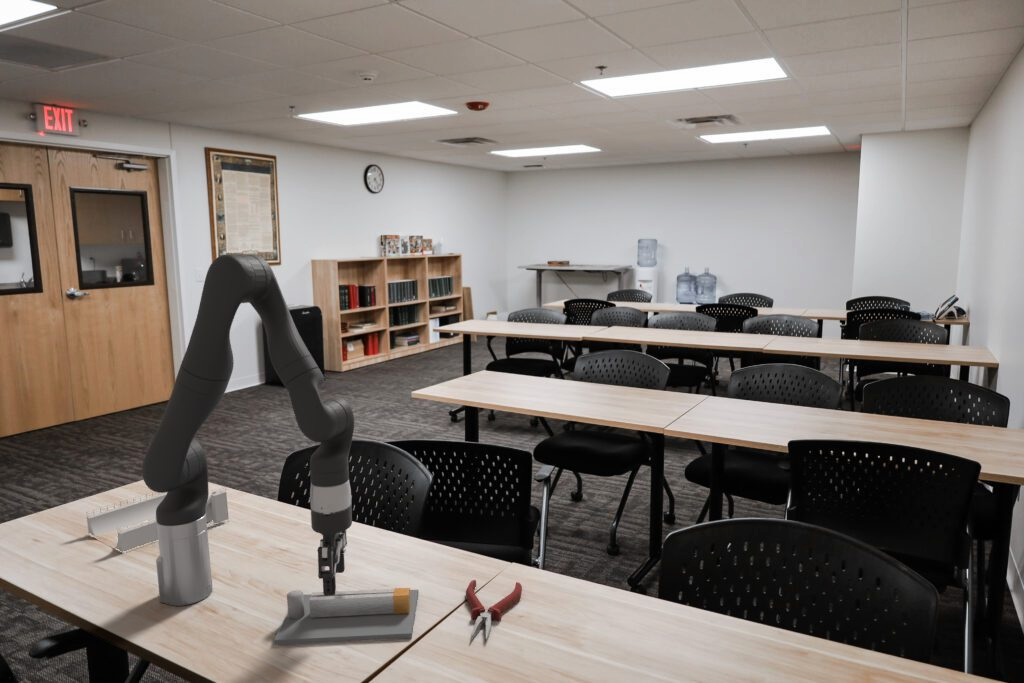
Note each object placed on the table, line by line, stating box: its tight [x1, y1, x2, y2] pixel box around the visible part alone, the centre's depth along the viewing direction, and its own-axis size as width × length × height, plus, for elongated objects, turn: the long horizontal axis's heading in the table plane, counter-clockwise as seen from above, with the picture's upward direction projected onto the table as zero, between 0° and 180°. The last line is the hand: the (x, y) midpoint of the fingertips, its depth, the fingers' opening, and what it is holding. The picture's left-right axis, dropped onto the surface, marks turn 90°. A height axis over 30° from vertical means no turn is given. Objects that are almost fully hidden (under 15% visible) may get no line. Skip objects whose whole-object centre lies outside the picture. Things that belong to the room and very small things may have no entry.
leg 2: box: [309, 591, 410, 618], centre depth 131 cm, size 19×1×4 cm, turn 94°
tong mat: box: [273, 589, 419, 646], centre depth 131 cm, size 25×16×6 cm, turn 93°
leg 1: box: [311, 587, 411, 607], centre depth 132 cm, size 19×1×4 cm, turn 93°
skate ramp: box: [86, 486, 230, 552], centre depth 175 cm, size 25×23×10 cm
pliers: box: [465, 579, 523, 641], centre depth 132 cm, size 12×20×3 cm, turn 172°
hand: (334, 582), depth 130 cm, fingers open, 8 cm apart
